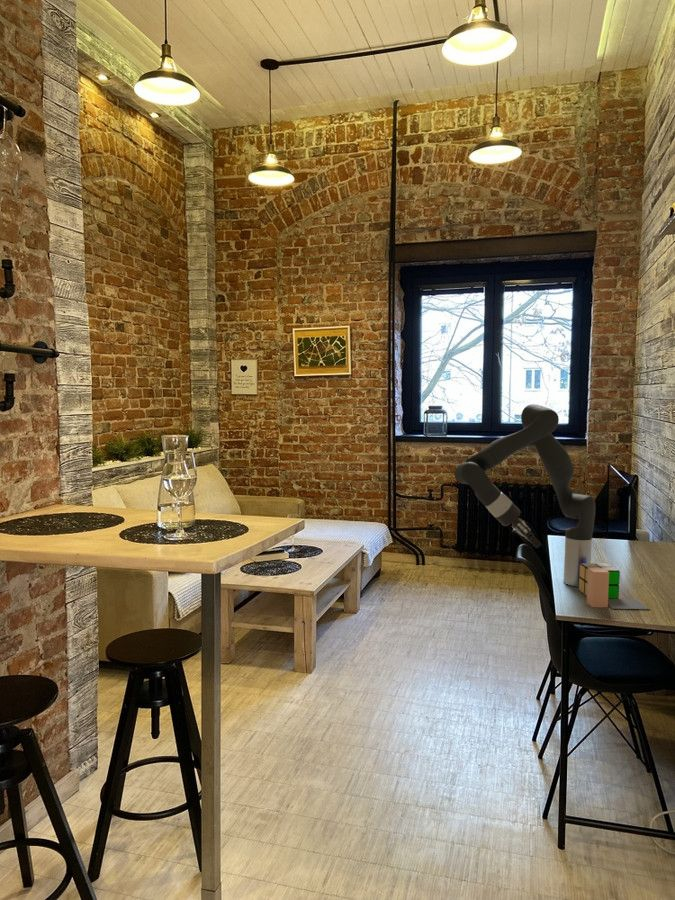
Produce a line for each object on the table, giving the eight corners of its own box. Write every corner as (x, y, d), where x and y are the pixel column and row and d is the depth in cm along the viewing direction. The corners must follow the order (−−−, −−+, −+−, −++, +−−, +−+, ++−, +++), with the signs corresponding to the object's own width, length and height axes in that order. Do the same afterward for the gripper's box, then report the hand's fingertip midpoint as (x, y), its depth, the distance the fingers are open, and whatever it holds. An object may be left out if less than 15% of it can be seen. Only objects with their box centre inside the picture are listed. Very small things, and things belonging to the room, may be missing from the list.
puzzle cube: (605, 590, 230) (607, 563, 229) (619, 599, 220) (620, 570, 219) (578, 590, 230) (579, 563, 229) (590, 599, 220) (591, 570, 219)
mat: (600, 599, 219) (600, 598, 219) (636, 600, 219) (636, 599, 219) (612, 609, 209) (612, 608, 209) (649, 610, 209) (649, 608, 209)
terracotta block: (586, 603, 216) (588, 567, 215) (601, 603, 215) (603, 568, 214) (592, 607, 211) (593, 572, 210) (607, 608, 210) (609, 572, 209)
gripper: (516, 504, 204) (553, 542, 205) (506, 497, 217) (541, 533, 218) (498, 520, 205) (536, 558, 205) (489, 512, 218) (525, 548, 219)
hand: (538, 545), depth 212 cm, fingers closed
